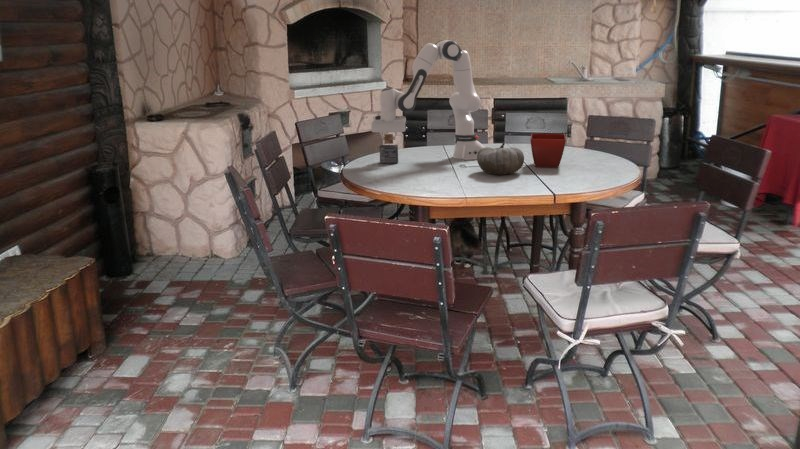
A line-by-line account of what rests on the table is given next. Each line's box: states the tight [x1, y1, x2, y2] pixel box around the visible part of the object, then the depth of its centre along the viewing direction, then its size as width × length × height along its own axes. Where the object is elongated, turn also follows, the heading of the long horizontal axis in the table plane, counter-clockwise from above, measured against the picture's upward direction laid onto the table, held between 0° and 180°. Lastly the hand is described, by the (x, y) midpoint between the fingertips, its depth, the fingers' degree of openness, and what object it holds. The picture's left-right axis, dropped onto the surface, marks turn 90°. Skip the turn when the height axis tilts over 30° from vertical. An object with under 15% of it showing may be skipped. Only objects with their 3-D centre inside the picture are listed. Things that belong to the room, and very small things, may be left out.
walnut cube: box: [383, 133, 394, 145], centre depth 407 cm, size 5×5×5 cm
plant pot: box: [530, 132, 567, 169], centre depth 393 cm, size 19×19×17 cm
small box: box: [378, 144, 399, 165], centre depth 410 cm, size 11×6×10 cm, turn 84°
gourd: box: [476, 142, 525, 176], centre depth 376 cm, size 25×25×17 cm
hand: (388, 139), depth 407 cm, fingers closed on walnut cube, 5 cm apart
